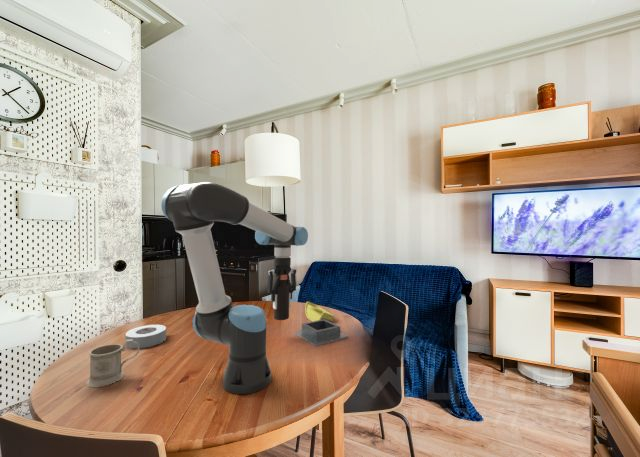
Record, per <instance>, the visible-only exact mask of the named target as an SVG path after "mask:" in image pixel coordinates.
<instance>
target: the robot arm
mask: <svg viewBox="0 0 640 457" xmlns="http://www.w3.org/2000/svg"><path fill="white" fill-rule="evenodd" d="M160 206H161V211H162V214H163V215H164V217H166V219H168V220H170V222H172V224H173V227H174V230H175V232H176V233H178V234H180V235H181V237H182V241H183V244H184V248H185V252H186V256H187V260H188V265H189V268H190V272H191V275H192V279H193V283H194V288H195V291H196V295H197V299H198V304H197V305H196V307H195V313H194V317H192V328H193V330H194V332H195V333H196V335H198V336H199V337H201V338H202V339H204V340H207V341H211V342H216V343H218V344H223V345H225V346H228V360H227V364H226V367H225V369H224V373H223V377H222V387H223V389H224V390H225V391H227V392H228V393H231V394H236V395H247V394H252V393H256V392H259V391H261V390H263V389H265V388H266V387H268V385H269V384H270V383H271V381H272V369H271V366H270V364H269V361H268V358H267V325H268V324H267V323H268V322H267V314H266V311H265V310H264V309H263V308H262V307H259V306H256V305H253V304H248V305H247V304H238V305H233V301H232V298H231V296H229V295H227V294H226V291H225V287H224V283H223V278H222V274H221V270H220V264H219V261H218V260H219V259H218V257H217V253H216V252H217V251H216V248H215V245H214V244H215V243H214V239H213V235H212V230H211V229H212V227H213V225H214V224H215V222H221V223H222V222H223V223H227V224H230V225H235V226H236V225H240V226H244V227H246V228H248V229H251V230H253V231H255V232H254V233H255V234H254V239H255V241H256V243H258V245H261V246H262V245H263V246H267V245H274V249H273V250H274V252H273V253H274V255H273V256H274V259H273V260H274V261H273V262H274V263H273V269H272V270H267V275H268V278H267V280H268V281H267V291H266V292H267V293H268V294H270V295H271V297H270V298H271V299H270V300H271V302H272V308H273V310H274V309H277V294H276V290H277V286H278V284H279V280H280V278H281V275H287V283H288V284H289V308H291V300H292V299H293V294H294V292H295V291H297V281H296V276H297V269H294V268H291V264H292V263H291V262H292V260H291V259H292V258H291V255H292V254H291V253H292V248H291V247H292V246H296V247H299V246H305V245H306V244H307V242H308V240H309V232H308V230H307V228H305V227H304V226H294V225H292V224H290V223H288V222H286V221H284V220H283V219H281V218H279V217H277V216H275V215H273V214H271V213H270V212H268V211H266V210H263V209H262V208H260V207H258V206H257V205H254V204H252V203H251V202H250V201H249V199H248V197H246V196H245V195H243V194H241V193H239V192H238V191H235V190H234V189H233V190H232V189H231V188H230V187H229V188H228V187H227V186H224V185H222V184H219V183H216V182H209V181H202V182H197V183H188V184H186V183H185V184H179V185H176V186H173V187H171V188H169V189H168V190H167V191H166V192H165V193H164V194H163V196H162V199H161V204H160ZM274 274H275V276H274ZM277 276H278V277H277Z"/></svg>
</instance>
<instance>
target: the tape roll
mask: <svg viewBox="0 0 640 457" xmlns="http://www.w3.org/2000/svg"><path fill="white" fill-rule="evenodd" d="M124 335H125V338H124V340H125V341H124V343H126V342H127V341H126V340H128V339H133V340H132V341H135V342H137V343H138V344H139V347H140V349H145V348H146V347H147V348H150V347H151V348H152V347H154V345H155V346H158V345H160V344H162V343H164V342H165V341H166V339H167V326H165V325H162V324H146V325H142V326H141V325H140V326H138V327H134V328H132V329H129V330H128V331H127V332H126V333H125V334H124ZM163 341H164V342H163ZM157 344H158V345H157ZM125 347H126V348H127V347H128V348H127V349H131V348H138V346H137V344H135V343H132V342H130V343H127V344H126V345H125Z"/></svg>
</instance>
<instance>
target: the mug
mask: <svg viewBox="0 0 640 457" xmlns="http://www.w3.org/2000/svg"><path fill="white" fill-rule="evenodd" d="M132 340H133V339H128V340H126V341H127V342H126V343H125V342H124V343H123V345H122V344H118V343H114V344H113V343H111V344H106V345H102V346H97V347H96V348H94V349H93V348H92V350H91V351H89V358H90V362H89V364H90V365H89V369H90V370H89V379H88V380H87V381H86V383H85V384H87V385H86V387H88V386H90V387H89V388H100V386H102V387H106V386H110V385H112V383H113V384H114V383H117V382H119V381H120V380H122V379H124V377H125V372H123V370H122V369H123V366H124V365H125V363H126V362H128V361H129V360H131V359H133V358H136V356H137V355H138V354H139V353H140V350H141V348H140V347H139V344H138V343H137V342H135V341H132ZM130 342H132V343H135V344H137V346H138V349H137V351H136V353H135V354H133V356H130V357H128V358H126V359H125V360H123V361H122V352H125V351H126V349H127V347H126V346H125V345H126V344H127V343H130ZM116 381H117V382H116ZM109 384H110V385H109ZM105 385H106V386H105Z"/></svg>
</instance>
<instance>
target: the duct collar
mask: <svg viewBox="0 0 640 457" xmlns="http://www.w3.org/2000/svg"><path fill="white" fill-rule="evenodd" d="M294 334H295V336H298V337H299V338H301V339H302V340H304V341H305V342H307V343H308V344H310V345H312V346H314V347H319V346H322V345H325V344H330V343H334V342H337V341H341V340H344V339H348V338H349V336H348V335H347V334H345V333H343V332H341V326H340V325H337V324H336V323H333V321H329V320H326V319H324V318H322V319H321V320H318V321H313V322H312V321H309V322H303V323H301V330H296V331H294Z"/></svg>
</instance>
